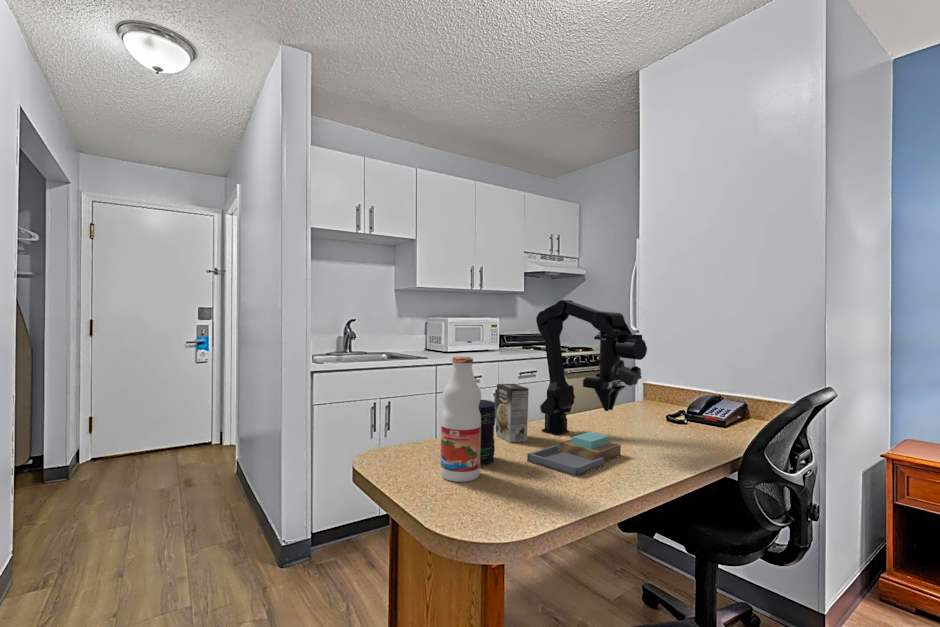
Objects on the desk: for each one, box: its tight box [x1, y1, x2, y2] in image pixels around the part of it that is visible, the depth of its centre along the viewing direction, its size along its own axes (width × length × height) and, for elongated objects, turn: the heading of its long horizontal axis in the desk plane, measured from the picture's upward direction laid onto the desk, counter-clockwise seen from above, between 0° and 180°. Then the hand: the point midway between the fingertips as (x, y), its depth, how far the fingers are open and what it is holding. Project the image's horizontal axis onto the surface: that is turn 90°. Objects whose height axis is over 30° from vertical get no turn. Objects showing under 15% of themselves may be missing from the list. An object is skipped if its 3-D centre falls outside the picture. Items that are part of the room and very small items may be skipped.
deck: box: [559, 438, 622, 462], centre depth 133 cm, size 12×11×3 cm
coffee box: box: [495, 383, 530, 444], centre depth 148 cm, size 9×6×16 cm
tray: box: [526, 444, 605, 477], centre depth 125 cm, size 15×12×2 cm
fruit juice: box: [439, 356, 482, 483], centre depth 115 cm, size 9×9×28 cm
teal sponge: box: [571, 431, 610, 449], centre depth 133 cm, size 6×9×2 cm, turn 134°
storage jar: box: [479, 399, 496, 466], centre depth 127 cm, size 10×10×15 cm
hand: (608, 410), depth 139 cm, fingers closed
